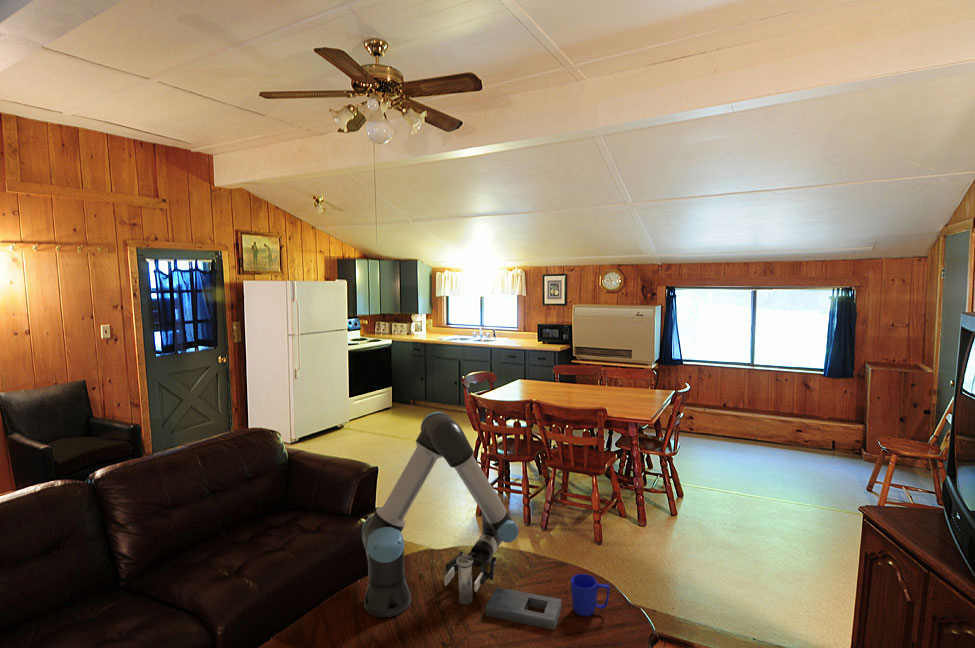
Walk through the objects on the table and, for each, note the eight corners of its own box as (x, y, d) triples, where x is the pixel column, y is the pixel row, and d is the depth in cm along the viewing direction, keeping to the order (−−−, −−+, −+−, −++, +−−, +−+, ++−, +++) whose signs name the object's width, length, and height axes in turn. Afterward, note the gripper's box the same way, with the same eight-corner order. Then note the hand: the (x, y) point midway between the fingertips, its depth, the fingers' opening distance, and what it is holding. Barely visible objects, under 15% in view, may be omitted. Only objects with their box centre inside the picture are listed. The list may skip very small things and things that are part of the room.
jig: (485, 615, 160) (485, 606, 160) (496, 595, 170) (496, 586, 170) (554, 630, 153) (554, 620, 152) (561, 608, 163) (561, 599, 163)
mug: (610, 622, 156) (610, 591, 155) (570, 617, 158) (570, 587, 157) (609, 605, 164) (609, 576, 163) (571, 601, 166) (571, 572, 165)
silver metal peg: (454, 603, 166) (453, 562, 165) (461, 593, 172) (460, 554, 171) (470, 606, 164) (469, 565, 163) (476, 596, 170) (475, 556, 169)
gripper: (513, 565, 181) (493, 602, 160) (455, 555, 188) (429, 589, 167) (512, 544, 180) (492, 579, 159) (455, 535, 188) (428, 567, 167)
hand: (460, 584), depth 163 cm, fingers open, 10 cm apart
